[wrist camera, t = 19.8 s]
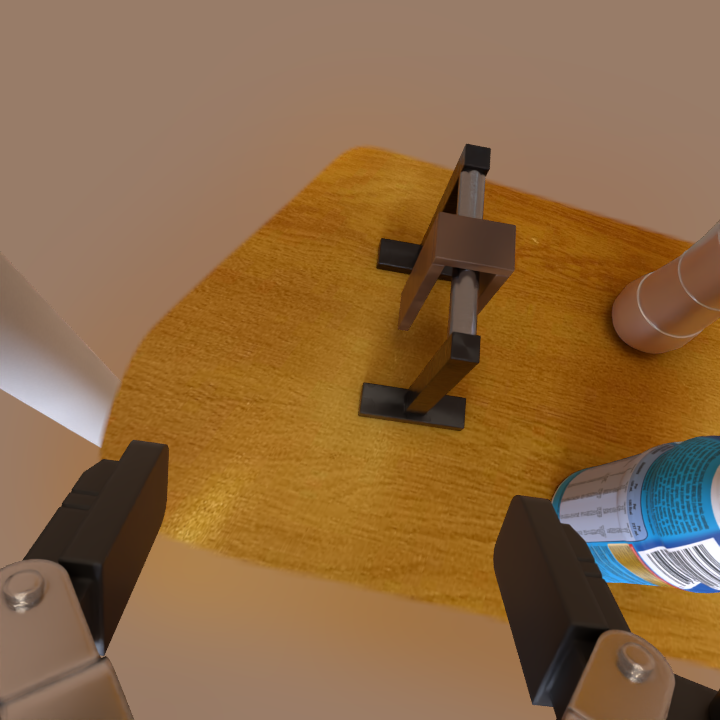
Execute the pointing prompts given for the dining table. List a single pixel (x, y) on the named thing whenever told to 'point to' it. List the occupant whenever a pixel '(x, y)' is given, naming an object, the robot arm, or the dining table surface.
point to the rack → (462, 344)
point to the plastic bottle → (672, 299)
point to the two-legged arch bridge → (460, 259)
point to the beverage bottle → (651, 515)
